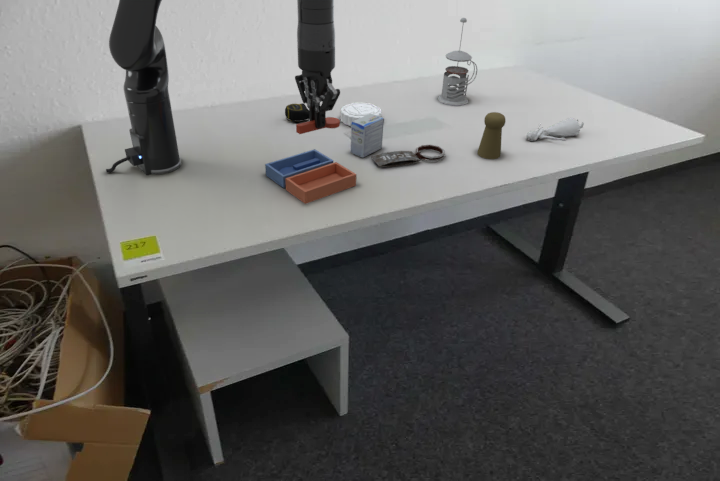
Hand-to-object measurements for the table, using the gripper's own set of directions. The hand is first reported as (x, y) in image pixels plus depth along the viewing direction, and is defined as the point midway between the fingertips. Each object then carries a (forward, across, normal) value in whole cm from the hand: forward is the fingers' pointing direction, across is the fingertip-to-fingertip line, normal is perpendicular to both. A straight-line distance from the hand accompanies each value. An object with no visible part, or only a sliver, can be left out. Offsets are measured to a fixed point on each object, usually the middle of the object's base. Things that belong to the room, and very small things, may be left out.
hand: (317, 125), depth 120 cm
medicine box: (+15, -7, +21) cm, 26 cm away
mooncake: (+15, -24, +33) cm, 43 cm away
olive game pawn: (+15, +13, +46) cm, 50 cm away
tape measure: (+15, -35, +19) cm, 43 cm away
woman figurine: (+15, +16, +70) cm, 73 cm away
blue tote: (+14, -7, 0) cm, 16 cm away
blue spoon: (+14, -7, 0) cm, 15 cm away
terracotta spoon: (+1, 0, 0) cm, 1 cm away
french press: (+15, -20, +69) cm, 73 cm away
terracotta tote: (+14, +2, 0) cm, 14 cm away
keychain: (+15, +3, +27) cm, 30 cm away
